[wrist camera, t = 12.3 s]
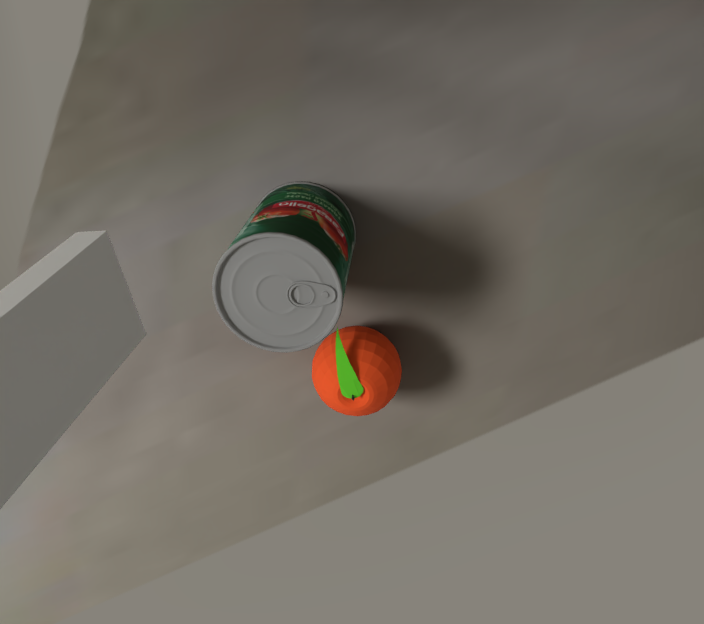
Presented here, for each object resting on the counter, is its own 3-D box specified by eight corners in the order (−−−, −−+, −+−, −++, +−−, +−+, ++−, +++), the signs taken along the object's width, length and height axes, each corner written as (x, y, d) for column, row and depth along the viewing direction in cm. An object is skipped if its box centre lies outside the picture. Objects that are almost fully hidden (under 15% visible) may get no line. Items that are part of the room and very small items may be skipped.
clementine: (301, 310, 50) (285, 356, 43) (384, 289, 48) (381, 333, 42) (333, 390, 53) (323, 444, 47) (412, 373, 51) (412, 426, 45)
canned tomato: (258, 280, 49) (220, 353, 39) (246, 182, 45) (201, 234, 35) (358, 280, 48) (346, 353, 38) (354, 179, 44) (339, 232, 35)
